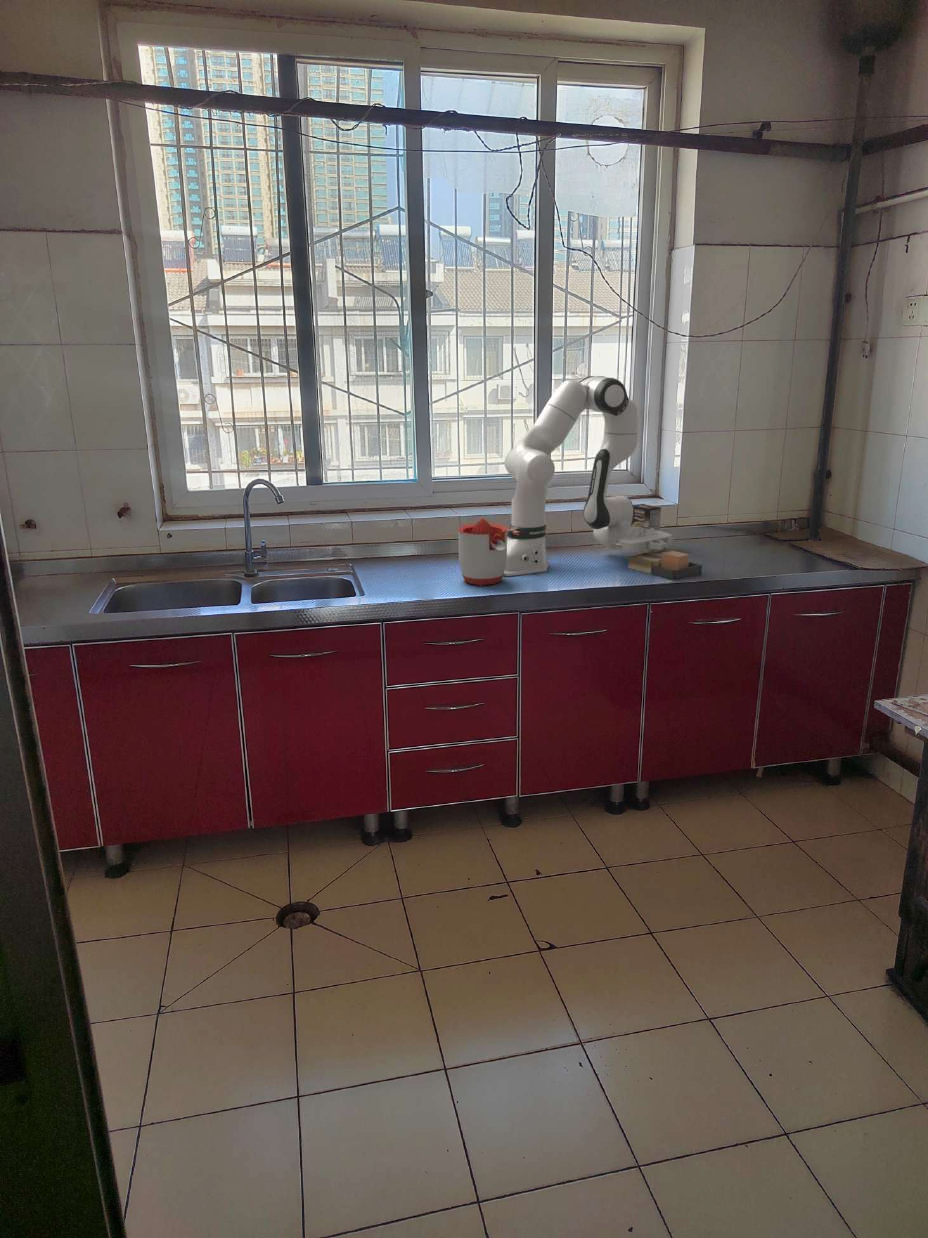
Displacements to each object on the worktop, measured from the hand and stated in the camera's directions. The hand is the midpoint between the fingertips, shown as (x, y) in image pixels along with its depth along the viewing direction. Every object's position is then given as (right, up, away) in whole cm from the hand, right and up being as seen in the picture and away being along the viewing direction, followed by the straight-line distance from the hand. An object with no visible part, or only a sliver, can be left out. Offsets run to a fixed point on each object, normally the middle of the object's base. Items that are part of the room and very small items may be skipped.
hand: (664, 546), depth 262 cm
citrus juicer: (-58, -12, -7) cm, 60 cm away
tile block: (+1, -5, 0) cm, 5 cm away
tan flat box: (-3, -7, +6) cm, 9 cm away
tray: (+3, -9, -2) cm, 10 cm away
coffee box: (0, +1, +31) cm, 31 cm away
